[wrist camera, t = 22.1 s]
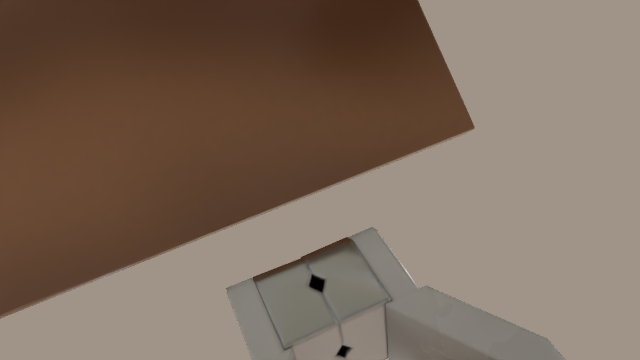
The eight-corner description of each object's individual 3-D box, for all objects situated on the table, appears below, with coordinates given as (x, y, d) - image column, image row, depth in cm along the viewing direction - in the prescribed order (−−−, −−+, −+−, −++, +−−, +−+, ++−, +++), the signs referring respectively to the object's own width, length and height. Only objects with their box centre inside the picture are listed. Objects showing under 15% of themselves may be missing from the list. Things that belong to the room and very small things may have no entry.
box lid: (465, 133, 19) (475, 127, 19) (-21, 326, 16) (-33, 329, 15) (322, -189, 21) (325, -207, 20) (-161, -79, 17) (-179, -95, 16)
